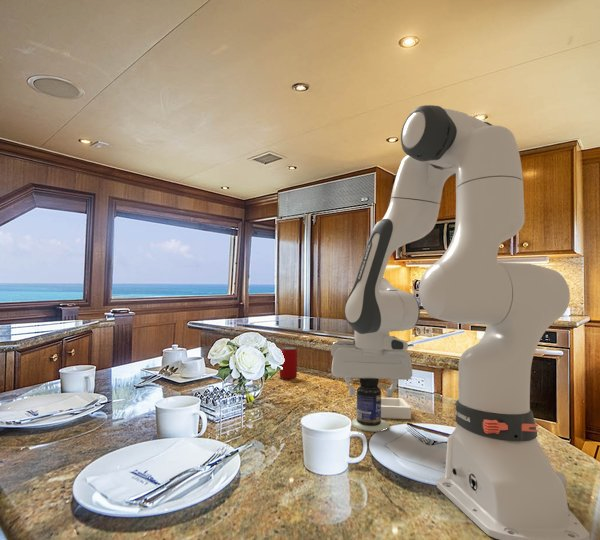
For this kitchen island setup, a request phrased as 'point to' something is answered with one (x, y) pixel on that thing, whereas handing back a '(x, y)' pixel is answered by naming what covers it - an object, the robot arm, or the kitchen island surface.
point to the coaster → (370, 428)
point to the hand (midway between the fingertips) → (370, 396)
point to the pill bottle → (369, 402)
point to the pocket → (395, 408)
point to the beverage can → (289, 363)
